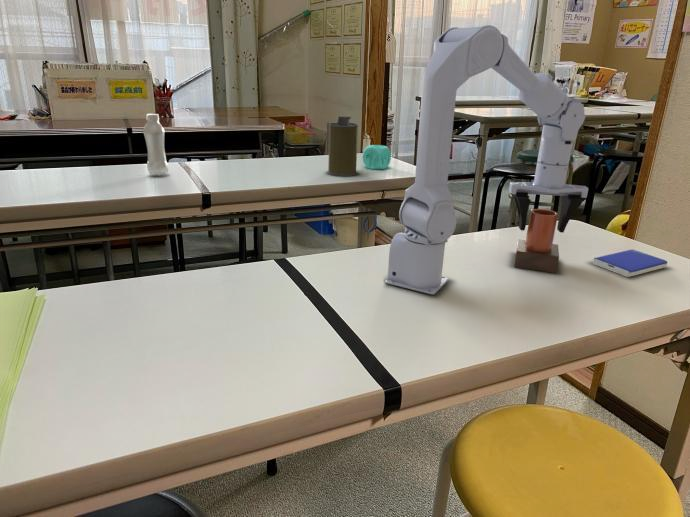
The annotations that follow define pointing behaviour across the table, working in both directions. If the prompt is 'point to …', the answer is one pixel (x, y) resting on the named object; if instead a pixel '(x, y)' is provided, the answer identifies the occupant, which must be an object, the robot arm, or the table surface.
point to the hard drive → (630, 262)
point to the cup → (541, 230)
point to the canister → (342, 147)
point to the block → (536, 258)
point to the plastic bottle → (155, 146)
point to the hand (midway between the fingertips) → (540, 230)
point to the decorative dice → (376, 157)
